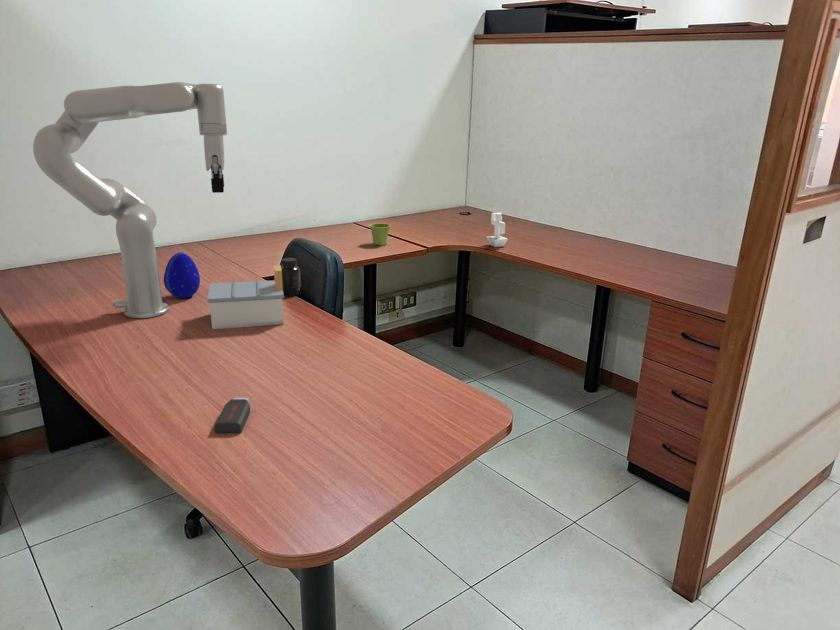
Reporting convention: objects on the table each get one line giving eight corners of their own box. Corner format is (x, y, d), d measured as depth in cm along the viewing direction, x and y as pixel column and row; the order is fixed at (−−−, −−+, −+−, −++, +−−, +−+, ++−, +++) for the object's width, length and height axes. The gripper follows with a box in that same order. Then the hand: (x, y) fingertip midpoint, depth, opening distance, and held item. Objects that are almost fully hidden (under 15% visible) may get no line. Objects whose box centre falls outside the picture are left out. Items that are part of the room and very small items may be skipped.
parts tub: (212, 329, 177) (209, 302, 175) (214, 312, 190) (212, 288, 187) (283, 324, 182) (281, 298, 179) (280, 308, 195) (279, 284, 192)
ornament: (189, 290, 210) (184, 247, 205) (208, 295, 206) (203, 251, 201) (161, 298, 201) (156, 253, 196) (180, 303, 197) (175, 258, 192)
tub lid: (207, 302, 174) (205, 278, 171) (210, 286, 187) (208, 264, 185) (283, 298, 179) (282, 274, 177) (281, 283, 193) (279, 261, 190)
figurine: (495, 248, 277) (497, 215, 272) (484, 243, 285) (486, 211, 280) (509, 247, 280) (511, 214, 275) (497, 242, 288) (499, 210, 283)
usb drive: (214, 434, 124) (213, 422, 124) (229, 406, 136) (228, 394, 135) (241, 434, 125) (240, 422, 124) (253, 406, 136) (252, 394, 135)
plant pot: (366, 242, 281) (366, 223, 278) (385, 241, 285) (385, 222, 282) (374, 247, 274) (374, 228, 271) (393, 245, 277) (393, 226, 274)
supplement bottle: (276, 294, 208) (274, 260, 204) (289, 289, 214) (287, 255, 210) (292, 298, 205) (290, 263, 201) (305, 292, 211) (303, 258, 207)
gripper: (200, 127, 184) (206, 185, 190) (197, 131, 168) (203, 194, 174) (226, 127, 186) (231, 185, 192) (226, 131, 170) (231, 194, 176)
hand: (218, 189), depth 183 cm, fingers open, 9 cm apart
